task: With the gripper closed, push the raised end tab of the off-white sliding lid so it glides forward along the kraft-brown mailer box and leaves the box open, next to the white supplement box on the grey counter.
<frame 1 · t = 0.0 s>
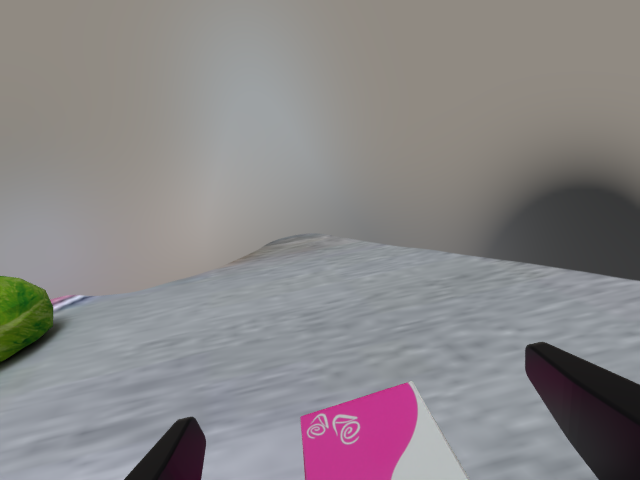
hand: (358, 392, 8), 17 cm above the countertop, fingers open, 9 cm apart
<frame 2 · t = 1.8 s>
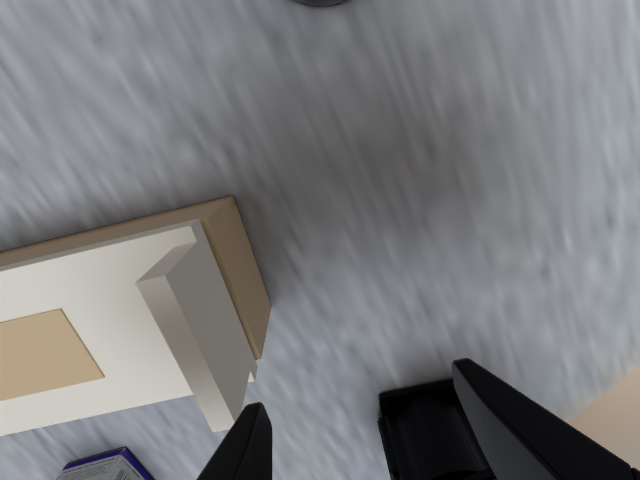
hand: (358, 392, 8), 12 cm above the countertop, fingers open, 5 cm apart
lid: (46, 364, 13), point 7 cm above the countertop, slide at 0.0 cm
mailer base: (135, 282, 20), on the countertop
supplement box: (115, 473, 27), on the countertop
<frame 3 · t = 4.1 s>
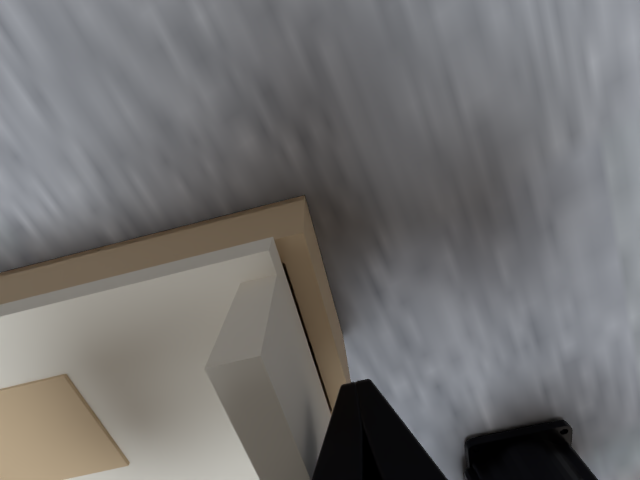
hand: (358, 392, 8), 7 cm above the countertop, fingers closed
lid: (45, 460, 9), point 7 cm above the countertop, slide at 0.6 cm, touching gripper
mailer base: (172, 309, 15), on the countertop
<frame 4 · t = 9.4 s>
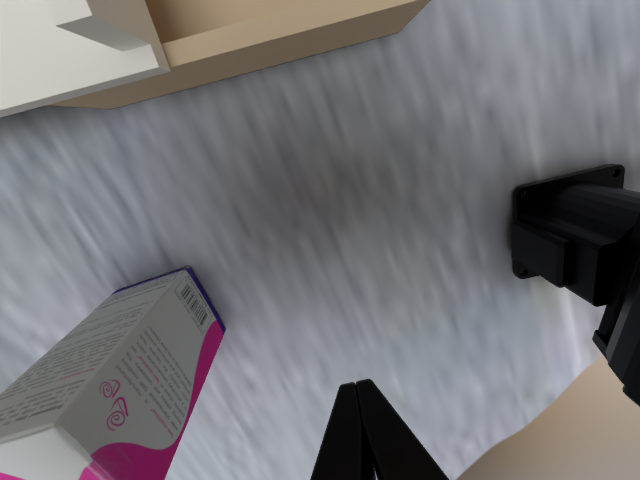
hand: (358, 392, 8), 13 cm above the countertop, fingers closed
supplement box: (173, 310, 22), on the countertop
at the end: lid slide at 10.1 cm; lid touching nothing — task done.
